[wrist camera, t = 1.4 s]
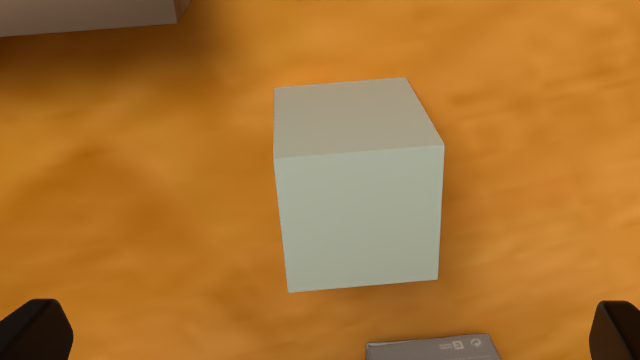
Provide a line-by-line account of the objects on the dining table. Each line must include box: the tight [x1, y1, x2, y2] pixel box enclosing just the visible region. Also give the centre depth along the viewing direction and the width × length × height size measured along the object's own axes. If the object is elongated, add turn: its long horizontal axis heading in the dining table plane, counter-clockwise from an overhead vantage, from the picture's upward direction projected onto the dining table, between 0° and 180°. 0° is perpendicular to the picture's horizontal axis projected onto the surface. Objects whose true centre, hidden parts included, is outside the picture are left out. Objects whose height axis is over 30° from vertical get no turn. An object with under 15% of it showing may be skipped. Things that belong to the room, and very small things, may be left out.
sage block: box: [273, 77, 445, 293], centre depth 21 cm, size 5×5×6 cm
